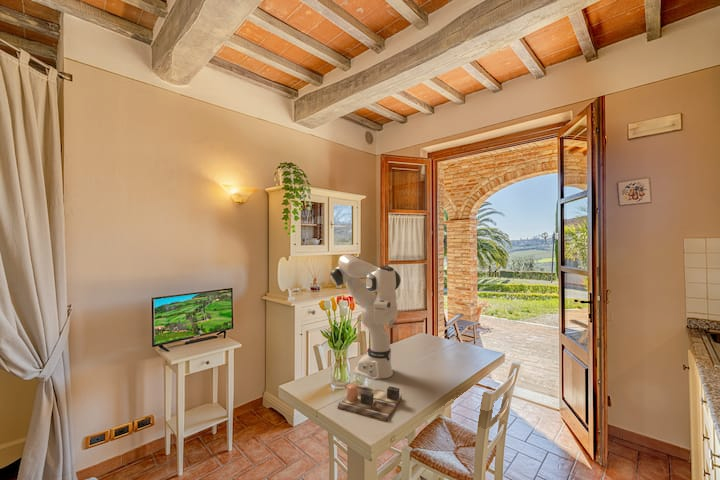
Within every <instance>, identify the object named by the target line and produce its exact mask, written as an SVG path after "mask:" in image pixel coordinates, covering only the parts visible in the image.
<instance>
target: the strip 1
mask: <svg viewBox="0 0 720 480" xmlns="http://www.w3.org/2000/svg"><path fill="white" fill-rule="evenodd" d="M340 402H343V403H347V404H350V405H354V406H358V407H362V408H366V409H371V407H372V406H373V405H374V404H375V400H373V393H372V392H367V391H363V392H362V393H361V397H359V396H358V400H357V401H356V402H349V401H348V400H347V395H346V396H345V397H344V398H343V399H342V400H341V401H340Z"/></svg>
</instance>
